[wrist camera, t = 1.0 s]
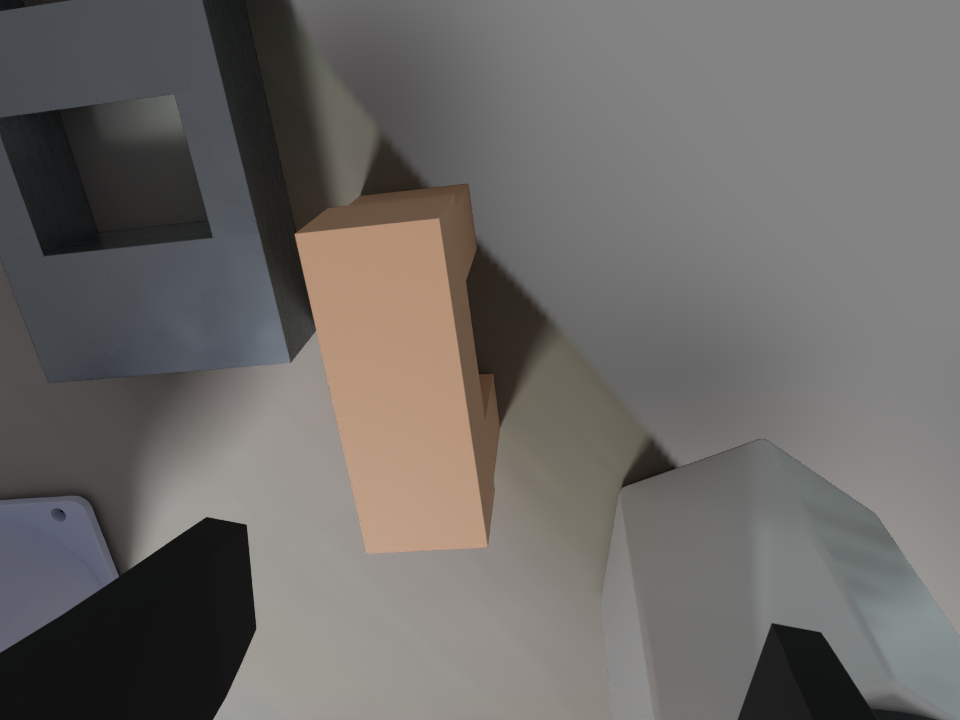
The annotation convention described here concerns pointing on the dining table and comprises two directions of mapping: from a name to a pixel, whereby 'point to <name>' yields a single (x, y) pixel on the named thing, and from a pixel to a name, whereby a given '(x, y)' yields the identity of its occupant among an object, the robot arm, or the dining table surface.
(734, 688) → the jar
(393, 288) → the tan block
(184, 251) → the grey slotted tray
